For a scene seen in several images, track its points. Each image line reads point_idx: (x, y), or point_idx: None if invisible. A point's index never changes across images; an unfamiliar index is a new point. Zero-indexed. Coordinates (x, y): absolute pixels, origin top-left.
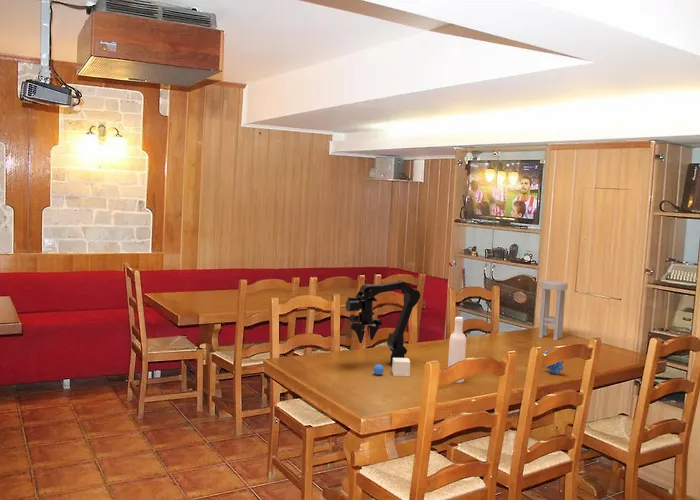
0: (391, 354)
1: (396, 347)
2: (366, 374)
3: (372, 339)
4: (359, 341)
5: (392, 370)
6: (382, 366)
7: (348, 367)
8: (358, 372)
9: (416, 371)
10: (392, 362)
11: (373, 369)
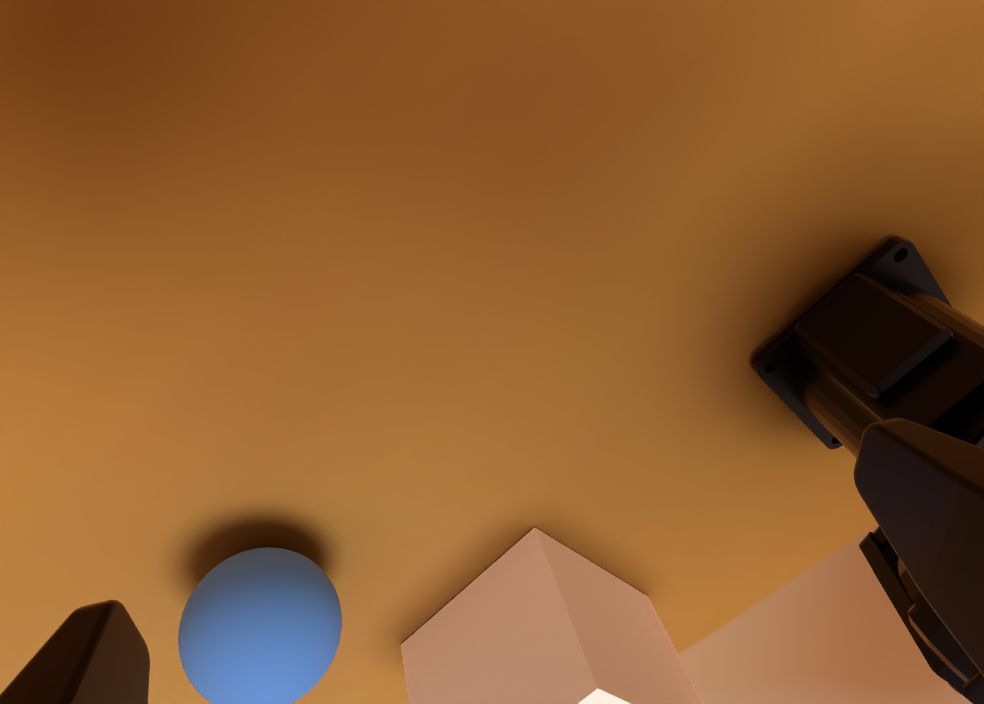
0: (942, 352)
1: (921, 648)
2: (111, 504)
3: (873, 499)
4: (34, 688)
5: (504, 577)
6: (300, 697)
7: (40, 16)
8: (44, 381)
9: (722, 610)
10: (570, 622)
11: (184, 615)
